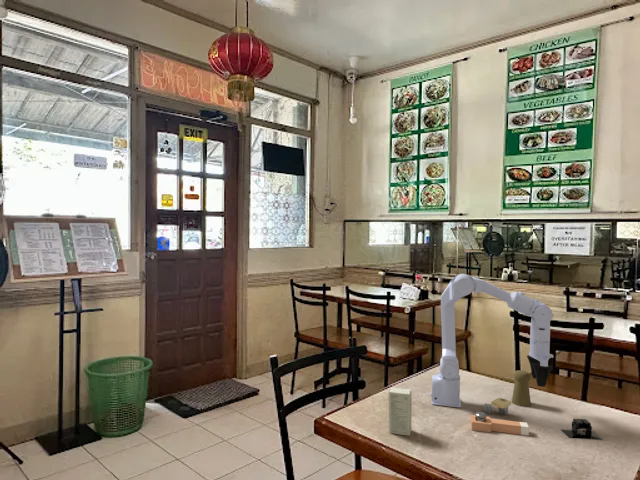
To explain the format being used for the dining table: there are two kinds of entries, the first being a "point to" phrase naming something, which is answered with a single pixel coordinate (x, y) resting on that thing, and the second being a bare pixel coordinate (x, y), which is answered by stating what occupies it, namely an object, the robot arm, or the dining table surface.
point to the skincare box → (400, 411)
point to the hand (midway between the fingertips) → (538, 382)
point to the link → (499, 426)
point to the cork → (521, 389)
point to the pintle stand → (498, 402)
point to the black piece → (581, 433)
